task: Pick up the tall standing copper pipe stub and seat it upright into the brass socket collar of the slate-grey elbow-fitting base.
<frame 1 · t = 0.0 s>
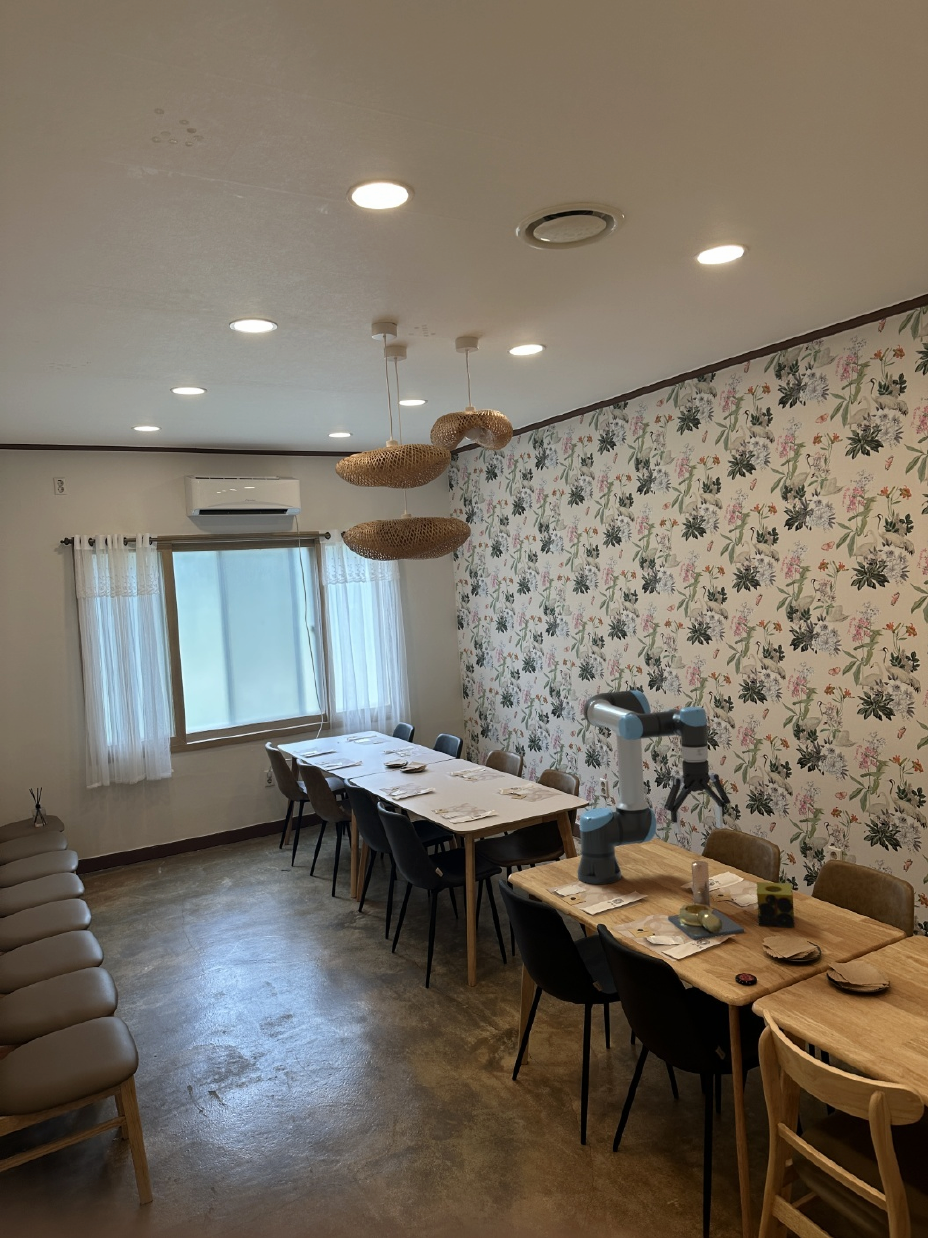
hand: (698, 830, 252), 28 cm above the table, fingers open, 13 cm apart
olive cube piece: (776, 921, 251), on the table
pipe stub: (702, 907, 265), on the table
fitting base: (705, 925, 251), on the table
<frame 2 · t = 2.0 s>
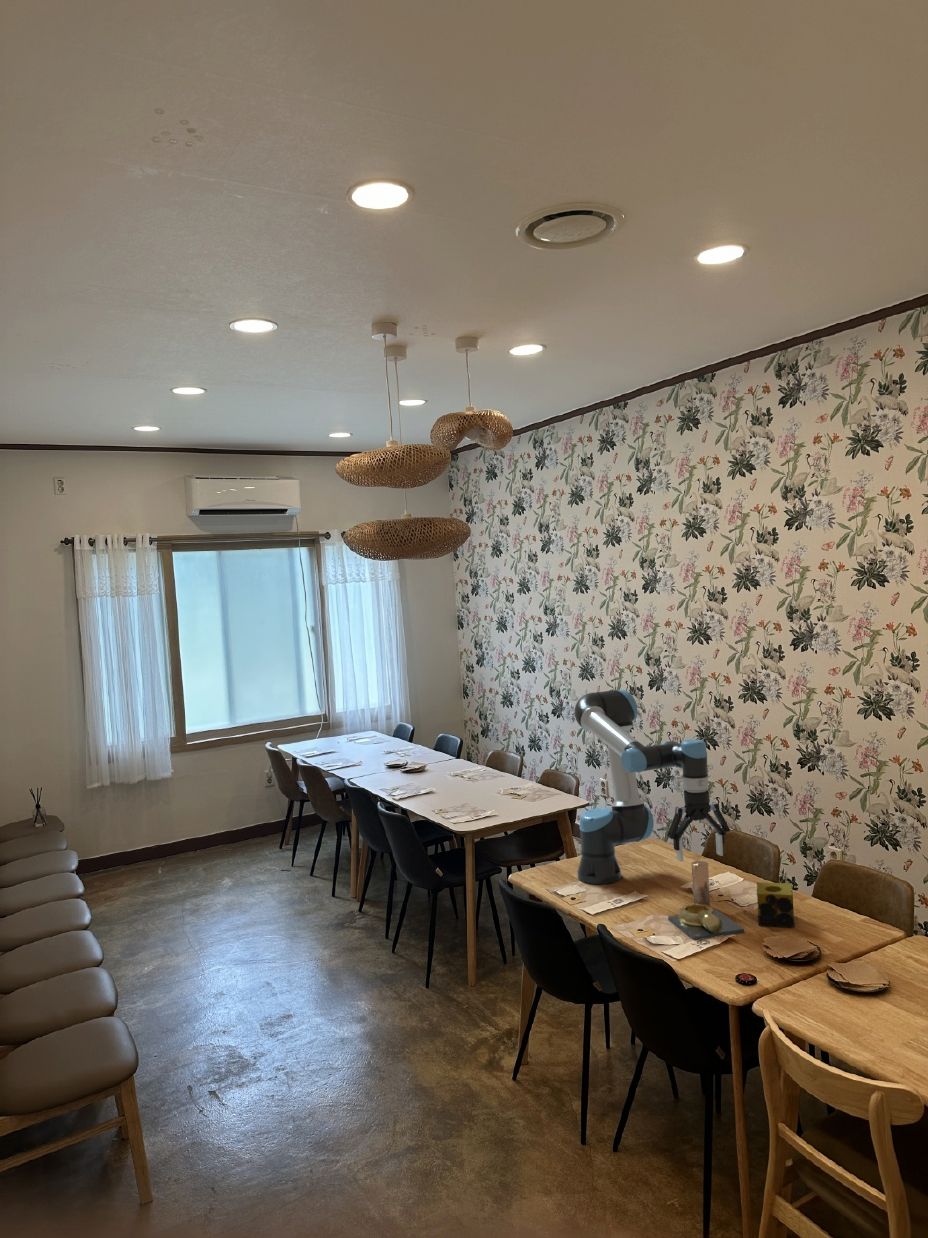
hand: (700, 857, 264), 16 cm above the table, fingers open, 13 cm apart
nothing on the table moved.
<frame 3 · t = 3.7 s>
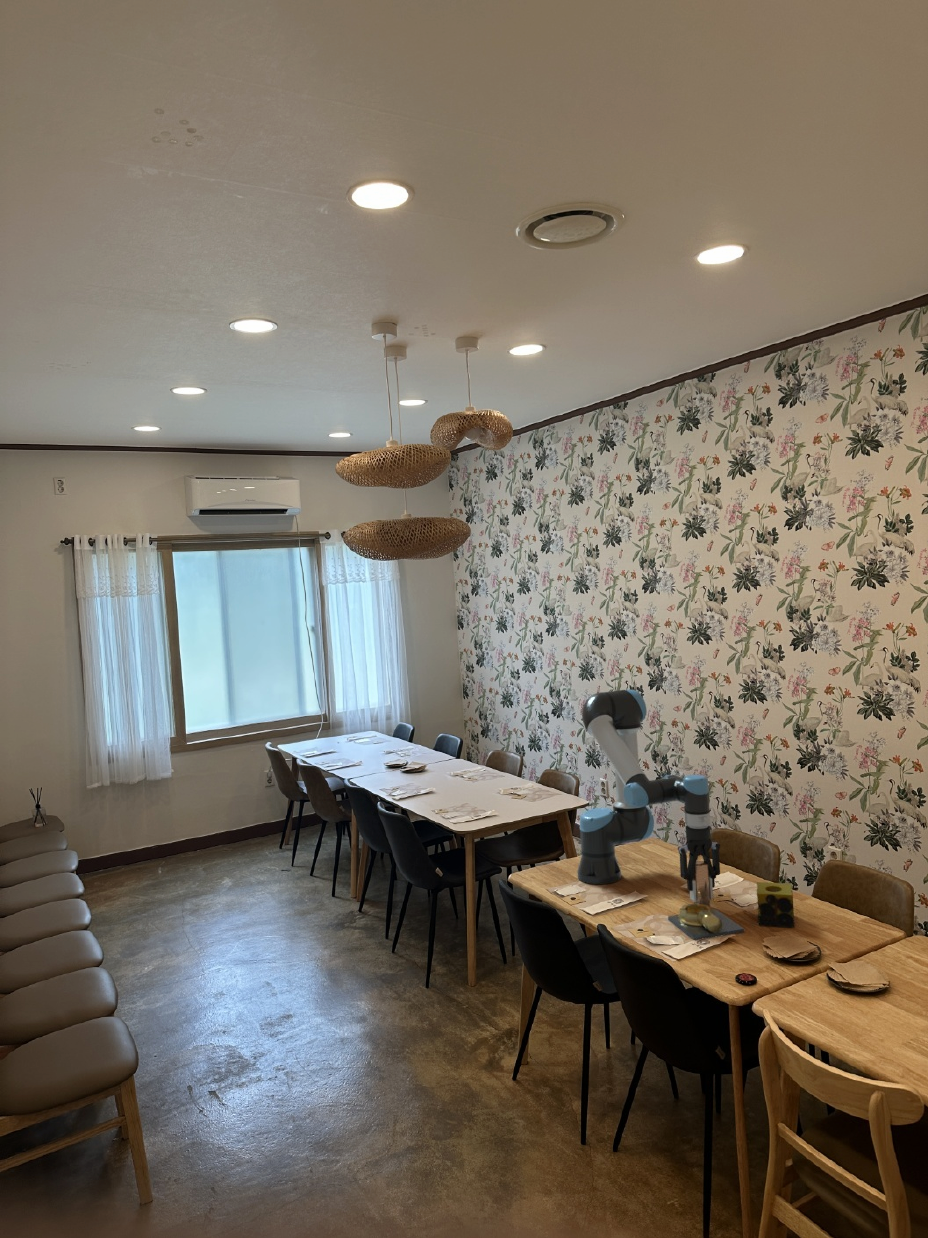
hand: (701, 899, 264), 3 cm above the table, fingers closed on pipe stub, 5 cm apart
pipe stub: (702, 907, 265), on the table, touching gripper
everything else where it was.
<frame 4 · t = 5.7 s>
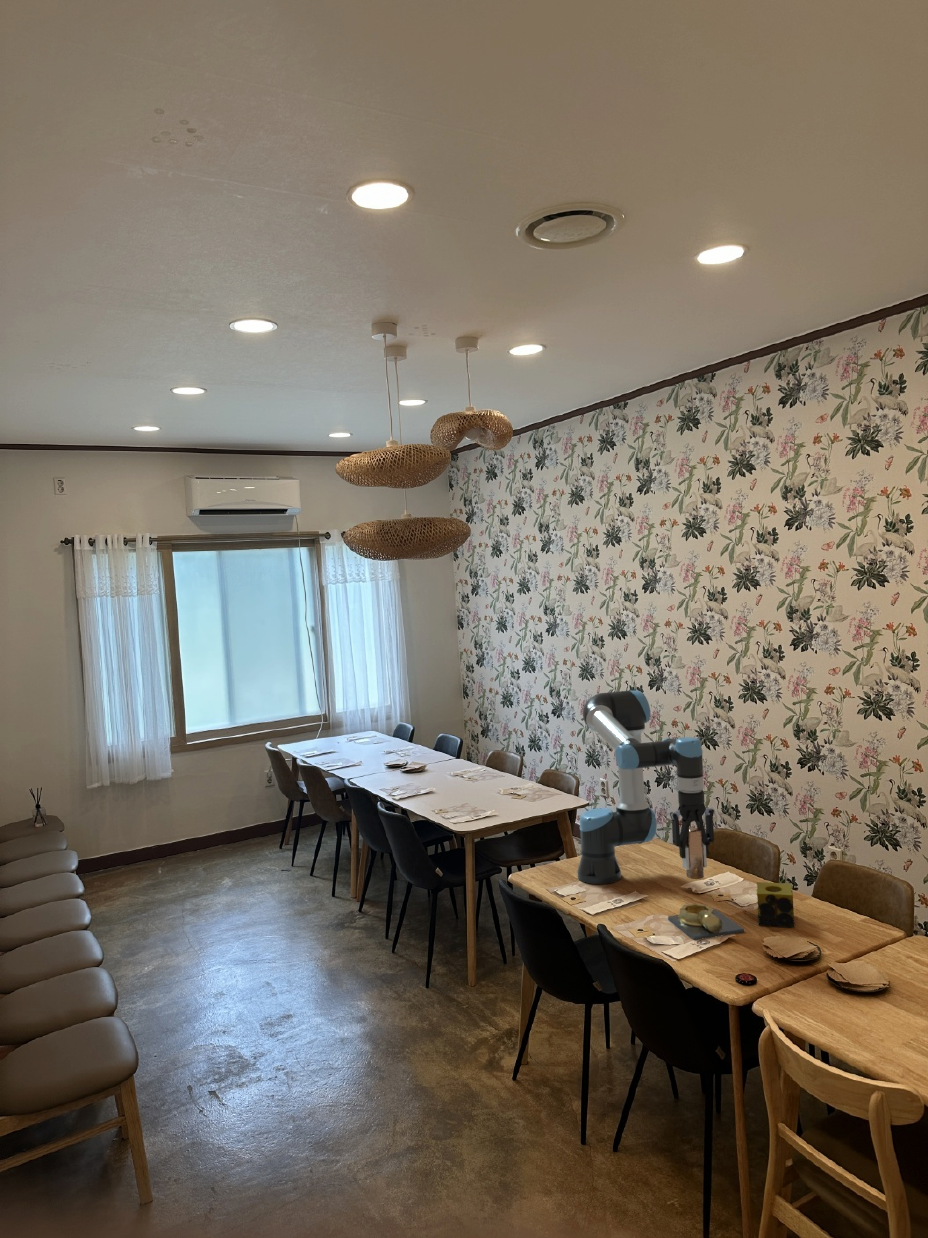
hand: (694, 867, 253), 17 cm above the table, fingers closed on pipe stub, 5 cm apart
pipe stub: (695, 876, 253), point 14 cm above the table, touching gripper
everything else where it was.
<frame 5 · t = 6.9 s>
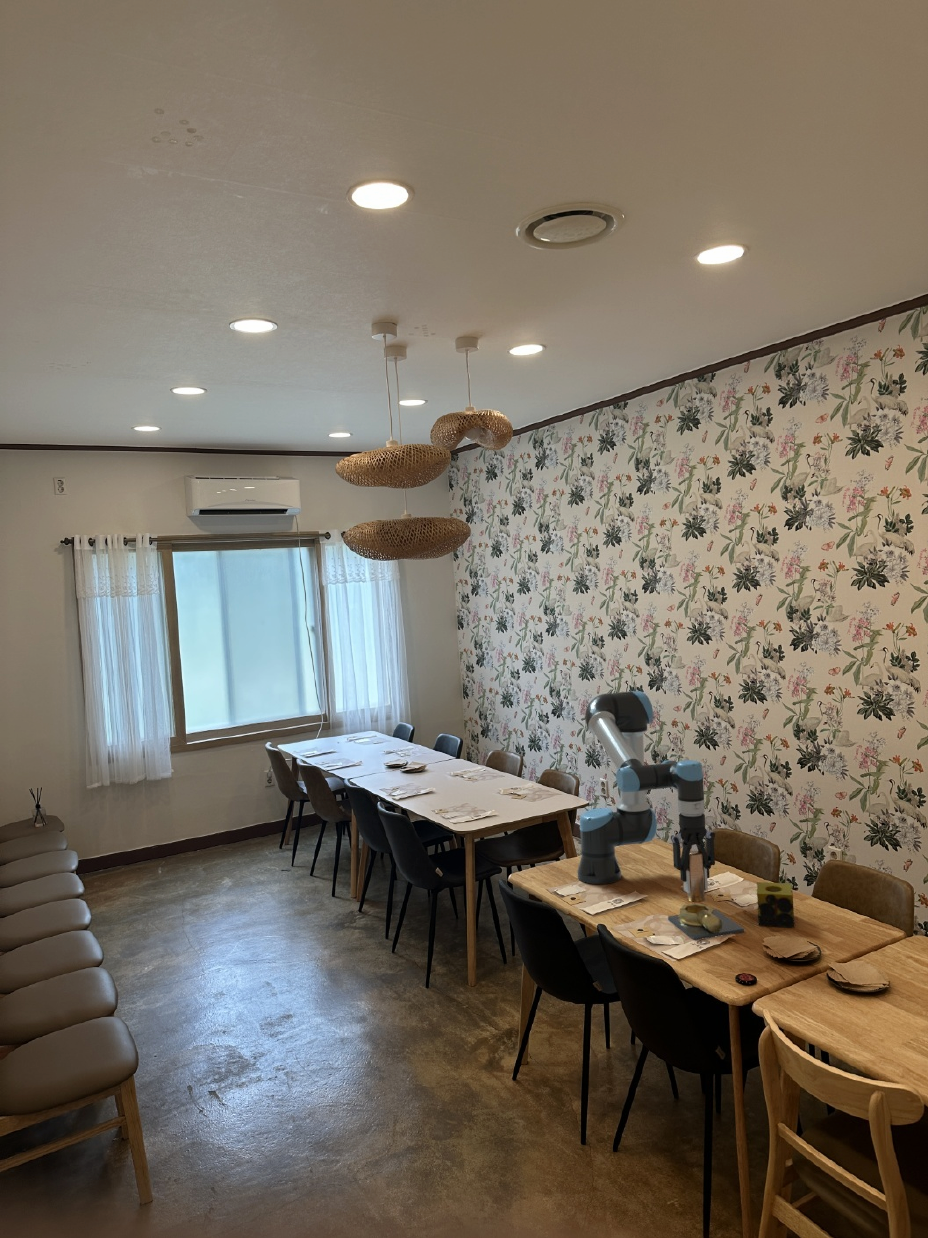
hand: (695, 890, 253), 10 cm above the table, fingers closed on pipe stub, 5 cm apart
pipe stub: (696, 899, 253), point 7 cm above the table, touching gripper
everything else where it was.
when the fingers open (6 cm above the table, at t = 7.9 s): pipe stub drops 2 cm, resting on fitting base.
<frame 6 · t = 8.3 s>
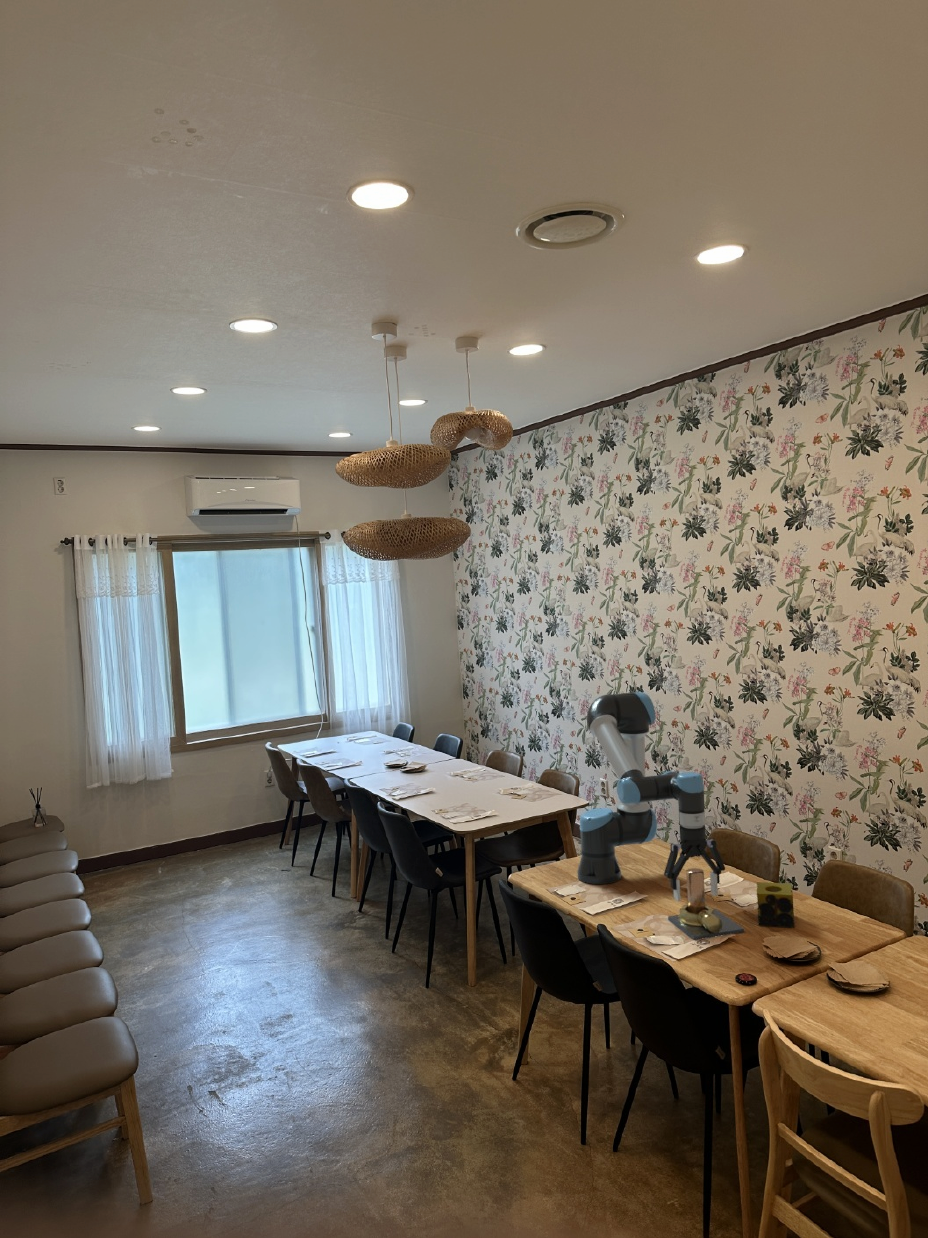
hand: (695, 897, 253), 8 cm above the table, fingers open, 11 cm apart
pipe stub: (697, 917, 253), point 2 cm above the table, touching fitting base
everything else where it was.
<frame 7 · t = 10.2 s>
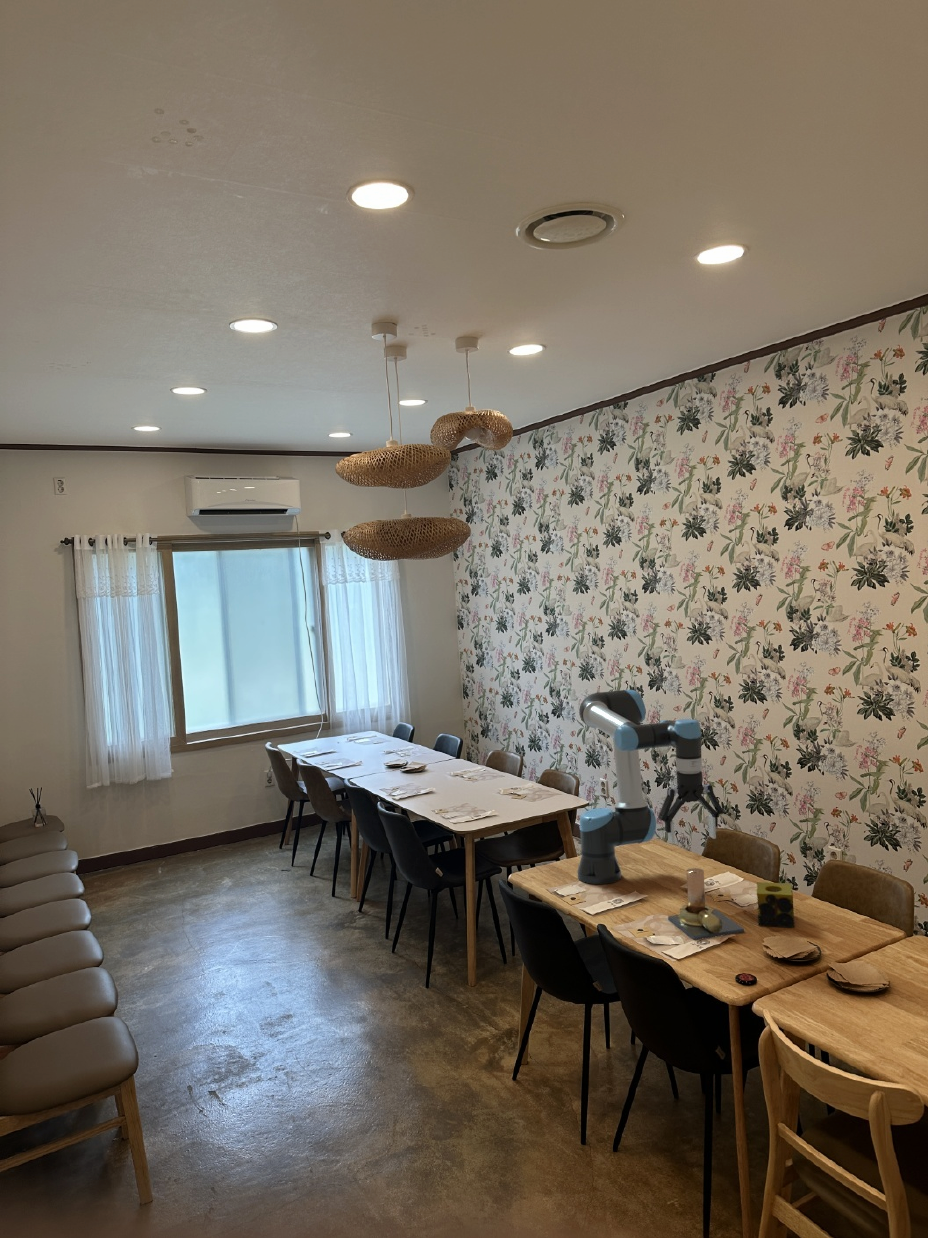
hand: (692, 840, 257), 24 cm above the table, fingers open, 13 cm apart
nothing on the table moved.
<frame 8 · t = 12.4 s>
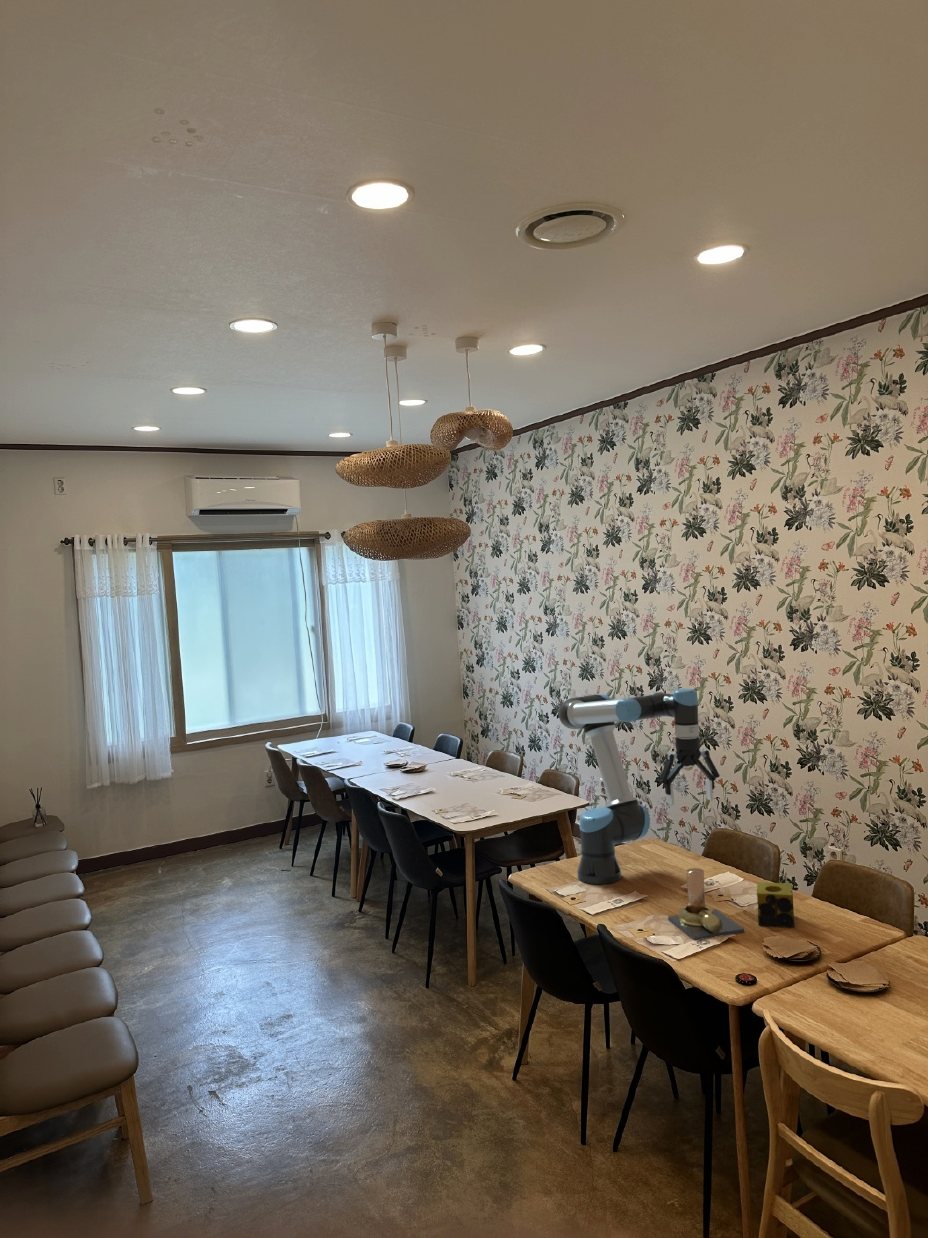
hand: (690, 802, 274), 31 cm above the table, fingers open, 13 cm apart
nothing on the table moved.
at the end: pipe stub 0.1 cm from the target spot on the fitting base, point 1.6 cm above the fitting base's base; pipe stub tilted 0°; the gripper is holding nothing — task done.
